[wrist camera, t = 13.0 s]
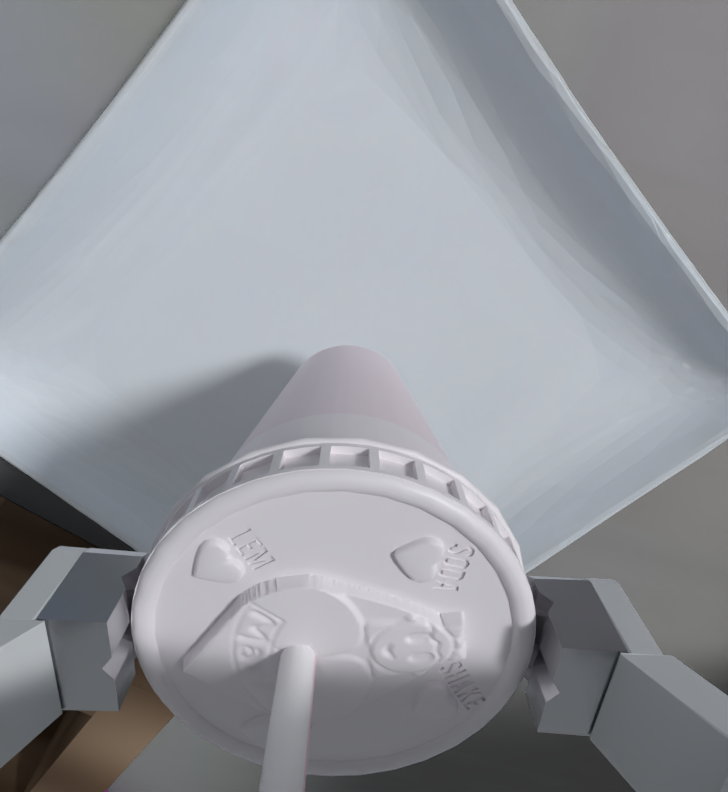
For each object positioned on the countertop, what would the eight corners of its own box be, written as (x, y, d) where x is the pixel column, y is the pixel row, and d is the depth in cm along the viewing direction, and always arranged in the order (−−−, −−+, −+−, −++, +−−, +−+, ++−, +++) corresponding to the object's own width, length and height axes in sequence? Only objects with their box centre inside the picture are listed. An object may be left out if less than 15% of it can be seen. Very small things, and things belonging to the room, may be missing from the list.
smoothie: (225, 315, 16) (-278, 878, 3) (441, 287, 16) (773, 787, 3) (267, 498, 19) (66, 1226, 6) (455, 476, 19) (674, 1190, 6)
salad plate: (737, 366, 21) (801, 403, 18) (343, 643, 27) (341, 707, 24) (358, -161, 15) (356, -244, 12) (-47, 347, 21) (-119, 382, 18)
